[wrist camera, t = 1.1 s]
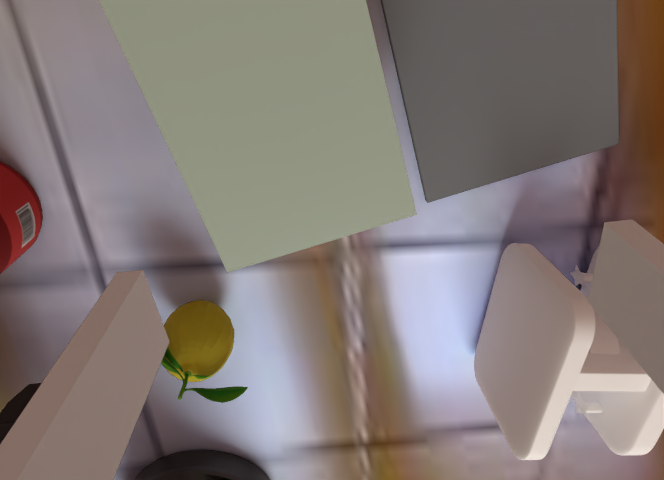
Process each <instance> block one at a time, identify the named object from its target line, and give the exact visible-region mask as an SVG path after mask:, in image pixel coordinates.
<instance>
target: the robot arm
mask: <svg viewBox="0 0 664 480" xmlns="http://www.w3.org/2000/svg"><path fill="white" fill-rule="evenodd" d="M588 302H589V303H590V304H591V306H592V307H593V308H594V309H595V310H596V312H597V313H598V314H599V315H600V317H601V318H602V319H603V320H604V322H605V323H606V324H607V325H608V326H609V328H610V329H611V330H612V331H613V333H614V334H615V335H616V336H617V338H618V339H619V340H620V341H621V342H622V344H623V345H624V346H625V347H626V349H627V350H628V351H629V352H630V353H631V355H632V356H633V357H634V358H635V360H636V361H637V362H638V363H639V365H640V366H641V367H642V368H643V369H644V371H645V372H646V373H647V374H648V376H649V377H650V378H651V379H652V381H653V382H654V383H655V384H656V385H657V387H658V388H659V389H660V390H661V392H662V393H663V394H664V244H663V243H662V242H660V241H659V240H658V239H656V238H655V237H654V236H653V235H651V234H650V233H649V232H648V231H646V230H645V229H644V228H643V227H641V226H640V225H639V224H638V223H636V222H635V221H634V220H622V221H613V222H604V227H603V232H602V236H601V241H600V246H599V250H598V255H597V260H596V264H595V269H594V274H593V278H592V283H591V288H590V292H589V297H588ZM169 342H170V341H169V339H168V336H167V333H166V331H165V328H164V325H163V323H162V320H161V317H160V315H159V312H158V309H157V307H156V304H155V301H154V299H153V296H152V293H151V291H150V288H149V285H148V283H147V280H146V277H145V275H144V272H143V270H137V271H127V272H118V273H116V274H115V276H114V277H113V279H112V280H111V282H110V283H109V285H108V286H107V288H106V289H105V291H104V292H103V294H102V295H101V297H100V298H99V299H98V301H97V302H96V304H95V305H94V307H93V308H92V310H91V311H90V313H89V314H88V316H87V317H86V319H85V320H84V322H83V323H82V325H81V326H80V328H79V329H78V330H77V332H76V333H75V335H74V336H73V338H72V339H71V341H70V342H69V344H68V345H67V347H66V348H65V350H64V351H63V353H62V354H61V356H60V357H59V359H58V360H57V361H56V363H55V364H54V366H53V367H52V369H51V370H50V372H49V373H48V375H47V376H46V378H45V379H44V381H43V382H42V383H38V384H29V385H28V386H27V387H26V388H24V389H23V390H22V391H21V392H20V393H19V394H17V395H16V396H15V397H14V398H13V399H12V400H10V401H9V402H8V403H7V405H6V406H5V407H4V409H3V410H2V412H1V413H0V480H113V479H114V477H115V475H116V472H117V470H118V467H119V465H120V462H121V460H122V457H123V455H124V452H125V450H126V447H127V445H128V443H129V440H130V438H131V435H132V433H133V430H134V428H135V425H136V423H137V420H138V418H139V416H140V413H141V411H142V408H143V406H144V403H145V401H146V398H147V396H148V393H149V391H150V389H151V386H152V384H153V381H154V379H155V376H156V374H157V371H158V369H159V366H160V364H161V362H162V359H163V357H164V354H165V352H166V349H167V347H168V344H169ZM135 480H269V479H268V477H267V476H266V475H265V474H264V473H263V472H262V471H261V470H260V469H259V468H258V467H256V466H255V465H253V464H252V463H250V462H248V461H246V460H244V459H242V458H240V457H237V456H234V455H231V454H227V453H222V452H216V451H187V452H181V453H176V454H172V455H169V456H166V457H164V458H161V459H159V460H157V461H155V462H153V463H152V464H150V465H149V466H147V467H146V468H145V469H144V470H142V471H141V472H140V473H139V475H138V476H137V477H136V479H135Z"/></svg>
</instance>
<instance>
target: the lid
mask: <svg viewBox="0 0 664 480" xmlns="http://www.w3.org/2000/svg"><path fill="white" fill-rule="evenodd" d="M99 2H100V4H101V6H102V8H103V10H104V12H105V14H106V17H107V19H108V21H109V23H110V25H111V27H112V29H113V31H114V33H115V36H116V38H117V40H118V42H119V44H120V46H121V48H122V50H123V53H124V55H125V57H126V59H127V61H128V63H129V65H130V67H131V69H132V72H133V74H134V76H135V78H136V80H137V82H138V84H139V86H140V89H141V91H142V93H143V95H144V97H145V99H146V101H147V103H148V105H149V108H150V110H151V112H152V114H153V116H154V118H155V120H156V122H157V125H158V127H159V129H160V131H161V133H162V135H163V137H164V139H165V141H166V144H167V146H168V148H169V150H170V152H171V154H172V156H173V158H174V161H175V163H176V165H177V167H178V169H179V171H180V173H181V175H182V177H183V180H184V182H185V184H186V186H187V188H188V190H189V192H190V194H191V197H192V199H193V201H194V203H195V205H196V207H197V209H198V211H199V213H200V216H201V218H202V220H203V222H204V224H205V226H206V228H207V230H208V233H209V235H210V237H211V239H212V241H213V243H214V245H215V247H216V250H217V252H218V254H219V256H220V258H221V260H222V262H223V264H224V266H225V269H226V271H227V273H228V272H231V271H234V270H237V269H241V268H244V267H247V266H250V265H254V264H257V263H260V262H263V261H267V260H270V259H273V258H277V257H280V256H283V255H286V254H290V253H293V252H296V251H299V250H303V249H306V248H309V247H312V246H316V245H319V244H322V243H326V242H329V241H332V240H335V239H339V238H342V237H345V236H348V235H352V234H355V233H358V232H361V231H365V230H368V229H371V228H375V227H378V226H381V225H384V224H388V223H391V222H394V221H397V220H401V219H404V218H407V217H410V216H414V215H417V213H416V209H415V205H414V200H413V196H412V192H411V188H410V184H409V179H408V175H407V171H406V167H405V163H404V158H403V154H402V150H401V146H400V142H399V137H398V133H397V129H396V125H395V120H394V116H393V112H392V108H391V104H390V99H389V95H388V91H387V87H386V83H385V78H384V74H383V70H382V66H381V62H380V57H379V53H378V49H377V45H376V41H375V36H374V32H373V28H372V24H371V19H370V15H369V11H368V7H367V3H366V0H99Z"/></svg>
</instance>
